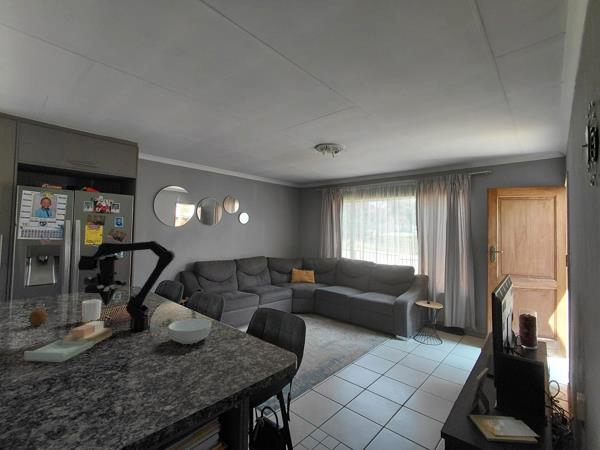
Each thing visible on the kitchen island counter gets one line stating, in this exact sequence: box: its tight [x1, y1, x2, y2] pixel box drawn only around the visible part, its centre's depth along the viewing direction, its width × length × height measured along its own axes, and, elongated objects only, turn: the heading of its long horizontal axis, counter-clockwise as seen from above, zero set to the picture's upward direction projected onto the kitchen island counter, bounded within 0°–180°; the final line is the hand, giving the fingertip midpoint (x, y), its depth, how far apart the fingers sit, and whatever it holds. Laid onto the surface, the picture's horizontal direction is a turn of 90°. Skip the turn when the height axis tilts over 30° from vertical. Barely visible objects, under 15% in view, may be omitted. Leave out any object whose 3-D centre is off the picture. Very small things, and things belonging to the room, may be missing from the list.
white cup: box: [81, 298, 103, 324], centre depth 143 cm, size 8×8×10 cm
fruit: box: [28, 308, 48, 327], centre depth 135 cm, size 6×6×8 cm
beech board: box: [61, 327, 113, 345], centre depth 120 cm, size 12×12×3 cm
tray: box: [23, 339, 95, 363], centre depth 107 cm, size 14×14×3 cm
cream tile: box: [83, 320, 105, 333], centre depth 123 cm, size 5×5×3 cm
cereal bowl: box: [167, 318, 212, 345], centre depth 121 cm, size 17×17×7 cm
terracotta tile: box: [71, 324, 94, 337], centre depth 117 cm, size 5×5×3 cm
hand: (106, 305), depth 130 cm, fingers closed
